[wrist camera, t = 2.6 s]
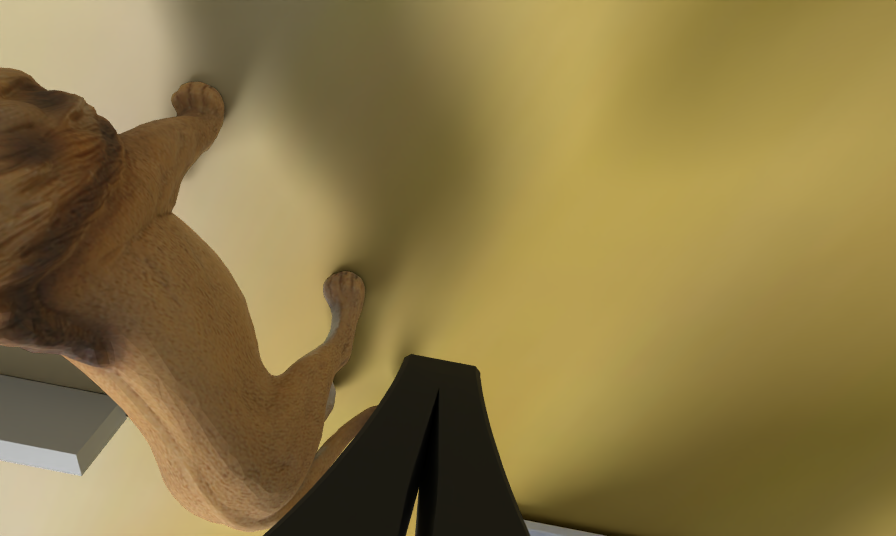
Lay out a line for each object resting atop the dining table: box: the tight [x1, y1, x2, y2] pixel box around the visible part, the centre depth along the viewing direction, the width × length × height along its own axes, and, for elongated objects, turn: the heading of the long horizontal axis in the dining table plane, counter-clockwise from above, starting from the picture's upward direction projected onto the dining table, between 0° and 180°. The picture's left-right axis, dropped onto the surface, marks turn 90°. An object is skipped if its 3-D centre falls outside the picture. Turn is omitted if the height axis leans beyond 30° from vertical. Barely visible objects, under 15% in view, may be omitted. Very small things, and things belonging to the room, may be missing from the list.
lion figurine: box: [0, 68, 378, 532], centre depth 13 cm, size 15×5×9 cm, turn 38°
